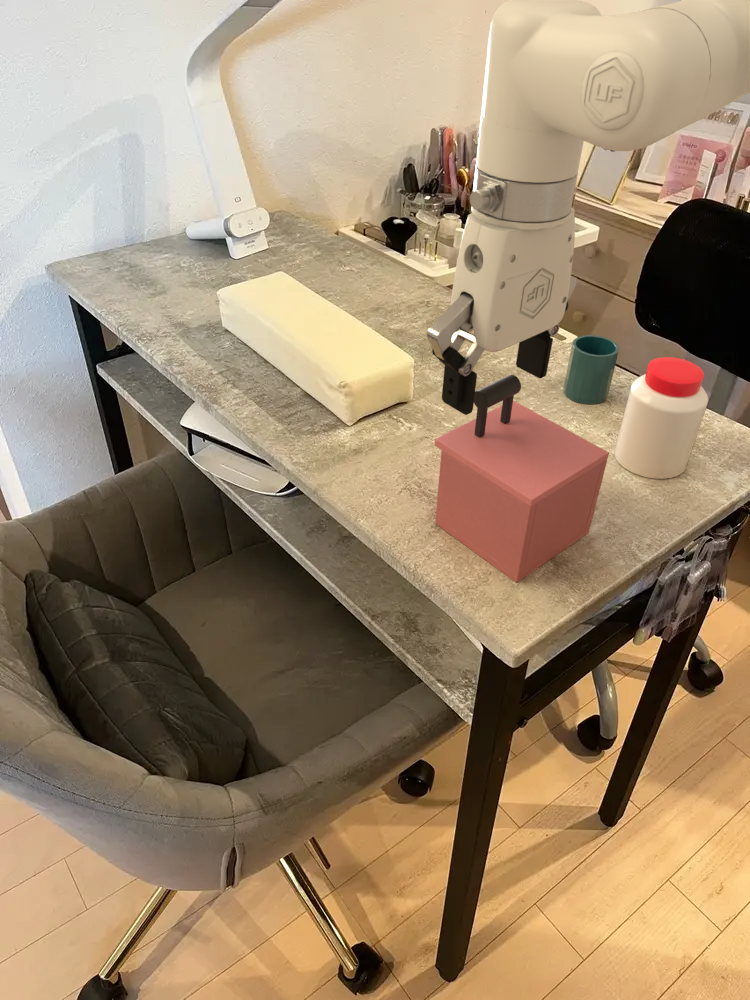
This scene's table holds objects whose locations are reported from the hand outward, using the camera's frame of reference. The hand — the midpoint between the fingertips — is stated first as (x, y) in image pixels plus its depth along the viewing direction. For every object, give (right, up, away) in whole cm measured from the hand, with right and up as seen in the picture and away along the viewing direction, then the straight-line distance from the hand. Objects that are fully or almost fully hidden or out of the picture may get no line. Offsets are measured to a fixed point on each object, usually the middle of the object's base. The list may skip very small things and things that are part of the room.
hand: (494, 389), depth 69 cm
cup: (+15, +3, +26) cm, 31 cm away
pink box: (+3, -13, +6) cm, 14 cm away
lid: (+2, -6, +1) cm, 6 cm away
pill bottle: (+20, -5, +16) cm, 26 cm away
